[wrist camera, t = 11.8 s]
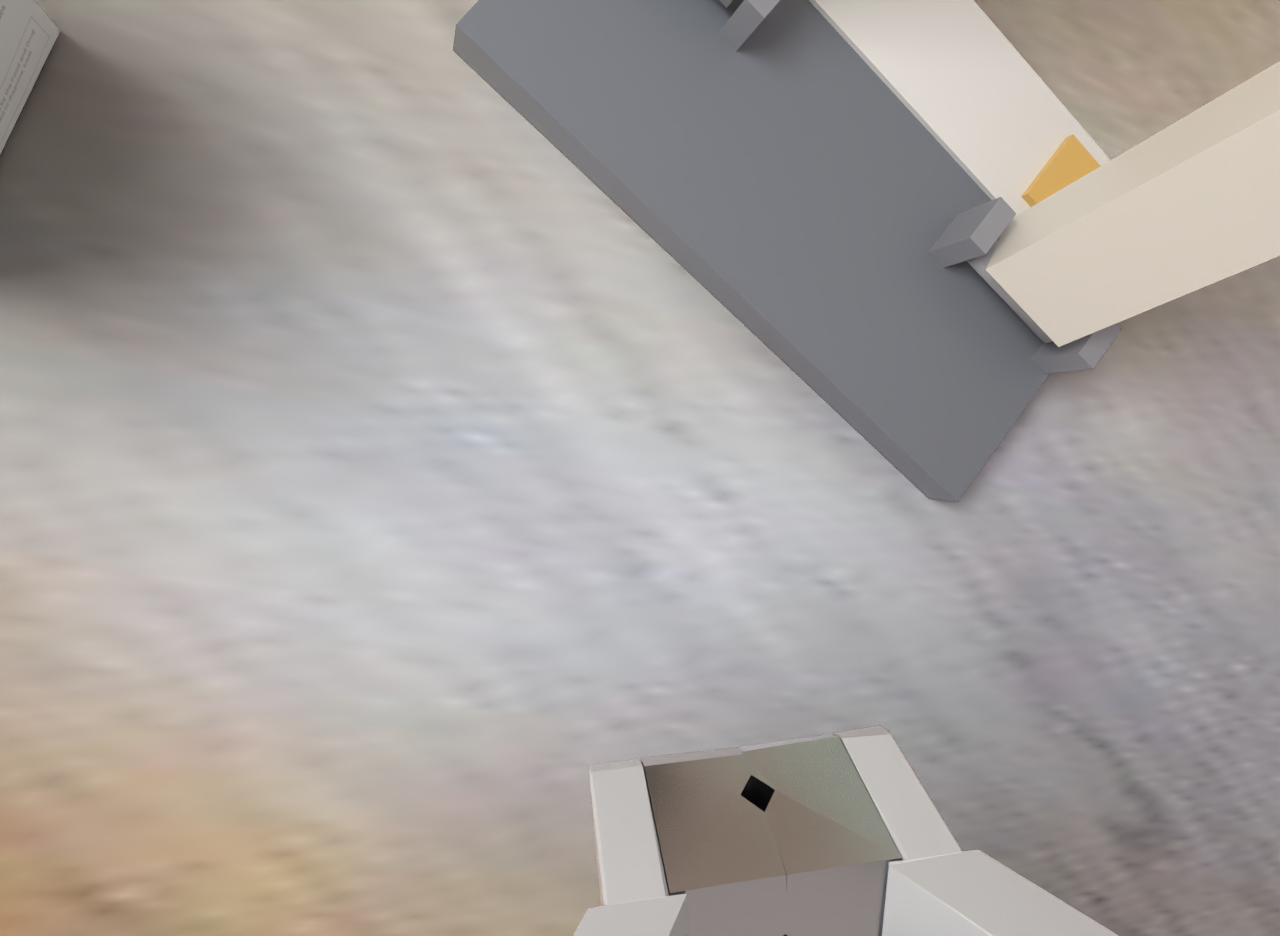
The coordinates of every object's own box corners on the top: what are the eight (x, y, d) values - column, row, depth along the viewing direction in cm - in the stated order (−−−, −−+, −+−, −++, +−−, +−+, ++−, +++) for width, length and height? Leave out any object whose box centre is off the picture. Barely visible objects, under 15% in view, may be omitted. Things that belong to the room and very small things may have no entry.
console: (928, 498, 28) (1000, 506, 25) (453, 50, 24) (461, -15, 20) (1122, 233, 30) (1213, 207, 27) (713, -233, 25) (760, -336, 22)
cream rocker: (1033, 362, 26) (1795, 51, 14) (955, 281, 26) (1694, -127, 13) (1051, 312, 28) (1771, -15, 15) (977, 233, 27) (1676, -183, 14)
